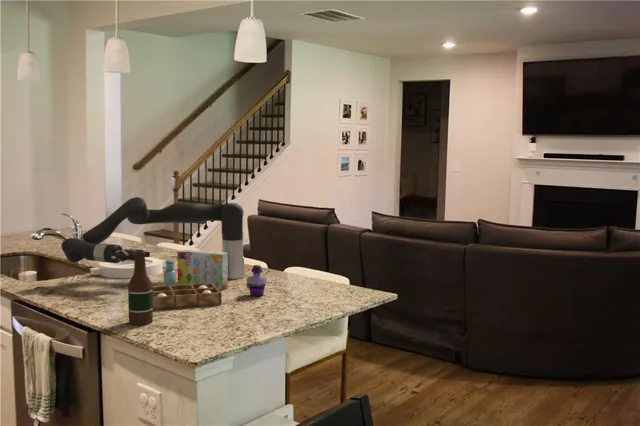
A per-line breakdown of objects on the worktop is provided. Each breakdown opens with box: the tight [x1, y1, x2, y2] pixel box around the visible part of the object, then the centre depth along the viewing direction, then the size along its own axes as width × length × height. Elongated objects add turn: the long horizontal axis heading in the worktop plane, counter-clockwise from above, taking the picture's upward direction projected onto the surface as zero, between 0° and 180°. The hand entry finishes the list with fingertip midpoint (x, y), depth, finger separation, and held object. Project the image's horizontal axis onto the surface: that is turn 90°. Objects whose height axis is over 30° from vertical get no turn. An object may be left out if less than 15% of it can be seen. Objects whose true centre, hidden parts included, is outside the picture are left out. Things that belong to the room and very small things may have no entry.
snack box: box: [177, 249, 229, 291], centre depth 248 cm, size 21×6×15 cm, turn 71°
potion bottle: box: [246, 264, 268, 298], centre depth 236 cm, size 9×9×12 cm
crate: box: [152, 283, 222, 311], centre depth 225 cm, size 25×17×5 cm
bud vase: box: [163, 259, 177, 286], centre depth 237 cm, size 5×5×13 cm
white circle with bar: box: [90, 256, 167, 279], centre depth 277 cm, size 28×28×5 cm
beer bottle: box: [127, 249, 154, 327], centre depth 196 cm, size 8×8×24 cm
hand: (143, 256), depth 239 cm, fingers open, 8 cm apart
